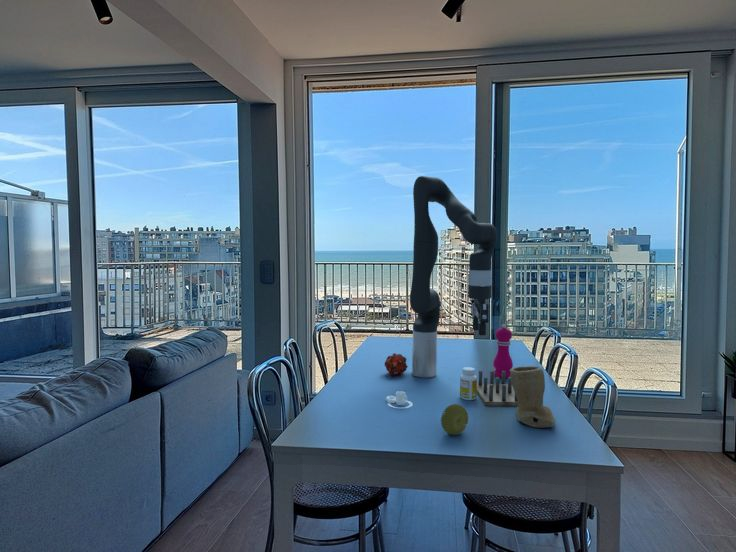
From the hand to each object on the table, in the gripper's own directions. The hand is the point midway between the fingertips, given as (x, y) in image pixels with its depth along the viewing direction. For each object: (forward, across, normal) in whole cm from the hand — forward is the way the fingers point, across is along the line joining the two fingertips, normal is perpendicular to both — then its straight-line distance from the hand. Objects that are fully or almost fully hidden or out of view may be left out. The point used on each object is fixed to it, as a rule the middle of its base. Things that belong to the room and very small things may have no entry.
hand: (479, 332), depth 150 cm
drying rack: (+21, +1, +8) cm, 23 cm away
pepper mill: (+21, -23, +15) cm, 35 cm away
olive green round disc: (+21, +31, -14) cm, 40 cm away
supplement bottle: (+21, +3, -4) cm, 22 cm away
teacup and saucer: (+22, +6, -26) cm, 34 cm away
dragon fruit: (+21, -24, -26) cm, 41 cm away
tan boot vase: (+21, +21, +10) cm, 31 cm away
